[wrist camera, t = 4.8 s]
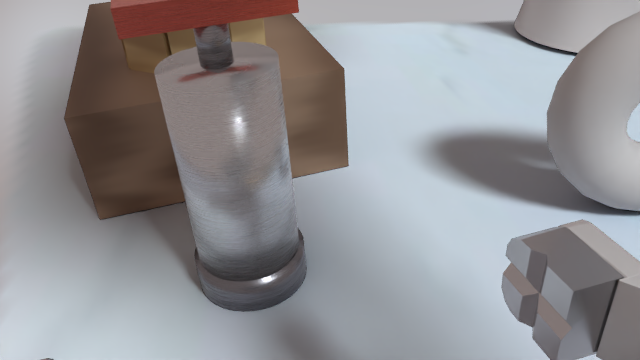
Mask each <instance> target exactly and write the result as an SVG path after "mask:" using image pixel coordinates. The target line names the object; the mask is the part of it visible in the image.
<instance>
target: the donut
mask: <svg viewBox="0 0 640 360" xmlns="http://www.w3.org/2000/svg"><path fill="white" fill-rule="evenodd" d="M639 103H640V11H639V12H637V13H635V14H633V15H631V16H629V17H627V18H625V19H623V20H621V21H619V22H616V23H614V24H612V25H610V26H609V27H608V28H606V29H605V30H604V31H603V32H602V33H600V34H599V35H598V36H597V37H596V38H594V39H593V40H592V41H591V42H590V43H588V44H587V45H586V46H585V47H584V48H582V49H581V50H580V51H579V52H578V54H577V55H576V57H575V58H574V59H573V61H572V62H571V64H570V65H569V66H568V68H567V69H566V71H565V72H564V73H563V75H562V76H561V78H560V79H559V80H558V82H557V85H556V88H555V91H554V94H553V97H552V99H551V102H550V105H549V108H548V111H547V142H548V147H549V149H550V152H551V154H552V156H553V159H554V161H555V163H556V166H557V168H558V170H559V172H560V173H561V174H562V175H563V176H564V177H565V178H566V179H567V180H568V181H569V182H570V183H571V184H572V185H573V186H574V187H575V188H576V189H577V190H579V191H580V192H581V193H582V194H583V195H584V196H586V197H588V198H591V199H593V200H595V201H598V202H600V203H602V204H605V205H607V206H609V207H613V208H616V209H625V210H634V211H640V142H637V141H635V140H632V139H631V138H630V137H629V136H628V133H627V122H628V120H629V117H630V115H631V113H632V111H633V110H634V109H635V108H636V107H637V105H638V104H639Z"/></svg>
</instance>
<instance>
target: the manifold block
mask: <svg viewBox="0 0 640 360" xmlns="http://www.w3.org/2000/svg"><path fill="white" fill-rule="evenodd" d="M110 7H111V2H106V3H99V4H91V5H89V9H88V13H87V18H86V22H85V27H84V31H83V36H82V40H81V45H80V49H79V54H78V58H77V63H76V67H75V72H74V76H73V81H72V85H71V90H70V94H69V99H68V103H67V108H66V112H65V117H64V120H65V122H66V125H67V128H68V131H69V134H70V136H71V139H72V142H73V145H74V148H75V151H76V153H77V156H78V159H79V162H80V165H81V167H82V170H83V173H84V176H85V179H86V182H87V184H88V187H89V190H90V193H91V196H92V198H93V201H94V204H95V207H96V210H97V212H98V215H99V218H100V220H101V219H105V218H110V217H115V216H119V215H124V214H128V213H133V212H138V211H142V210H147V209H152V208H156V207H161V206H165V205H170V204H175V203H179V202H184V201H185V197H184V193H183V189H182V185H181V181H180V177H179V173H178V169H177V165H176V160H175V156H174V152H173V148H172V144H171V140H170V136H169V132H168V128H167V124H166V119H165V115H164V111H163V107H162V103H161V99H160V95H159V91H158V87H157V83H156V78H155V74H154V70H155V68H156V66H157V65H158V64H159V63H160V62H161V61H162V60H164V59H165V58H167V57H169V56H170V55H173V54H175V53H177V52H180V51H183V50H186V49H189V48H192V47H196V41H195V36H194V31H193V29H186V30H180V31H173V32H166V33H160V34H153V35H147V36H140V37H134V38H127V39H120V40H119V38H118V35H117V31H116V27H115V24H114V20H113V16H112V13H111V9H110ZM228 27H229V33H230V39H231V42H251V43H258V44H262V45H265V46H268V47H270V48H272V49H274V50H275V51H276V52H277V54H278V57H279V66H280V75H281V84H282V93H283V102H284V111H285V120H286V129H287V137H288V146H289V155H290V164H291V173H292V178H295V177H299V176H304V175H309V174H313V173H318V172H322V171H327V170H332V169H336V168H341V167H346V166H348V145H347V122H346V100H345V77H344V68H343V67H342V66H341V65H340V64H339V63H338V62H337V61H336V60H335V59H334V58H333V57H332V56H331V54H330V53H329V52H328V51H327V50H326V49H325V48H324V47H323V46H322V45H321V44H320V43H319V42H318V41H317V40H316V39H315V38H314V37H313V36H312V35H311V33H310V32H309V31H308V30H307V29H306V28H305V27H304V26H303V25H302V24H301V23H300V22H299V21H298V20H297V19H296V18H295V17H294V16H293V15H292V14H285V15H278V16H272V17H265V18H258V19H252V20H245V21H239V22H232V23H228Z"/></svg>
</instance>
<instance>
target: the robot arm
mask: <svg viewBox="0 0 640 360" xmlns="http://www.w3.org/2000/svg"><path fill="white" fill-rule="evenodd" d="M639 11H640V0H524V2H523V4H522V7H521V9H520V12H519V14H518V16H517V18H516V20H515V23H514V27H515V29H516V30H517V32H519V33H520V34H521V35H522V36H524V37H526V38H527V39H529V40H532V41H534V42H536V43H539V44H542V45H545V46H549V47H552V48H556V49H560V50H565V51H570V52H576V53H578V52H579V51H580V50H581V49H582V48H584V47H585V46H586V45H587V44H588V43H590V42H591V41H592V40H593V39H594V38H596V37H597V36H598V35H599V34H600V33H602V32H603V31H604V30H605V29H606V28H608V27H609V26H610V25H612V24H614V23H616V22H619V21H621V20H623V19H625V18H627V17H629V16H631V15H633V14H635V13H637V12H639ZM506 257H507V258H508V259H509V260H510V261H511V264H510V265H509V266H508V268H507V269H506V270H505V271H504V273H503V277H502V291H503V295H504V300H505V302H506V304H507V306H508V308H509V310H510V311H511V313H512V314H513V315H514V316H515V318H516V319H517V320H518V321H520V322H522V323H524V324H526V325H528V326H531V327H532V338H533V340H534V341H535V342H536V343H537V344H538V346H539V347H540V348H541V349H542V350H543V352H544V353H545V354H546V355H547V356H548V358H549V359H550V360H576V359H579V358H583V357H586V356H590V355H593V354H596V356H597V357H598V358H600V359H602V360H640V262H639V261H638V260H637V259H636V258H634V257H633V256H632V255H631V254H629V253H628V252H627V251H626V250H624V249H623V248H622V247H621V246H619V245H618V244H617V243H616V242H614V241H613V240H612V239H611V238H609V237H608V236H607V235H606V234H604V233H603V232H602V231H601V230H599V229H598V228H597V227H596V226H594V225H593V224H592V223H590V222H588V221H585V220H579V221H575V222H571V223H568V224H564V225H560V226H558V227H553V228H550V229H546V230H542V231H538V232H535V233H531V234H527V235H523V236H520V237H516V238H512V239H511V241H510V242H509V243H508V245H507V250H506ZM42 360H54V359H50V358H46V359H42Z"/></svg>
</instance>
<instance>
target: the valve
mask: <svg viewBox="0 0 640 360" xmlns="http://www.w3.org/2000/svg"><path fill="white" fill-rule="evenodd" d="M110 9H111V13H112V16H113V20H114V24H115V27H116V31H117V35H118V38H119V40H120V39H127V38H134V37H140V36H147V35H153V34H160V33H166V32H173V31H180V30H186V29H193V31H194V36H195V41H196V47H192V48H189V49H186V50H183V51H180V52H177V53H175V54H173V55H170V56H169V57H167V58H165V59H164V60H162V61H161V62H160V63H159V64H158V65H157V66H156V68H155V70H154V74H155V78H156V83H157V87H158V91H159V95H160V99H161V103H162V107H163V111H164V115H165V119H166V124H167V128H168V132H169V136H170V140H171V144H172V148H173V152H174V156H175V160H176V165H177V169H178V173H179V177H180V181H181V185H182V189H183V193H184V197H185V201H186V205H187V210H188V214H189V218H190V222H191V226H192V230H193V234H194V238H195V242H196V246H197V247H196V250H195V262H196V266H197V270H198V274H199V278H200V282H201V286H202V290H203V292H204V294H205V295H206V296H207V298H208V299H209V300H210V301H211V302H213V303H214V304H216V305H218V306H220V307H222V308H225V309H229V310H234V311H256V310H261V309H265V308H269V307H272V306H274V305H277V304H279V303H281V302H282V301H284V300H286V299H287V298H289V297H290V296H291V295H293V294H294V293H295V292H296V291H297V290H298V288H299V287H300V286H301V284H302V283H303V281H304V279H305V275H306V259H305V249H304V240H303V236H302V233H301V232H300V230H299V229H298V227H297V218H296V209H295V200H294V191H293V182H292V173H291V164H290V155H289V146H288V137H287V129H286V120H285V111H284V102H283V93H282V84H281V75H280V66H279V57H278V54H277V52H276V51H275V50H274V49H272V48H270V47H268V46H265V45H262V44H258V43H251V42H231V39H230V33H229V27H228V23H232V22H239V21H245V20H252V19H258V18H265V17H272V16H278V15H285V14H291V13H298V12H299V9H298V0H111V7H110Z"/></svg>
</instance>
